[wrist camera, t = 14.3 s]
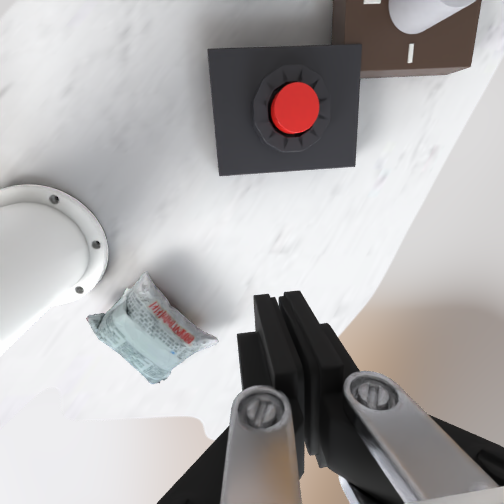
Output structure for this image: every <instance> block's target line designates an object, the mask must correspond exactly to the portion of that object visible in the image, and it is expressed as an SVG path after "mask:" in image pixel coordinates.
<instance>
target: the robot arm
mask: <svg viewBox="0 0 504 504" xmlns="http://www.w3.org/2000/svg"><path fill="white" fill-rule="evenodd" d="M56 197H58V199H59V201H58V200H57V199H56ZM97 241H98V242H100V244H98V243H97ZM107 263H108V244H107V239H106V236H105V234H104V231H103V229H102V227H101V225H100V223H99V222H98V220H97V219H96V217H95V216H94V215H93V214H92V213H91V212H90V210H89V209H88V208H87V207H86V206H84V205H83V204H82V203H81V202H79V201H78V200H77V199H75V198H74V197H72V196H70V195H68V194H67V193H65V192H62V191H60V190H57V189H54V188H52V187H47V186H42V185H33V184H23V185H16V186H10V187H6V188H3V189H0V356H1V355H2V354H3V353H4V352H5V351H6V350H7V349H8V348H9V347H10V346H11V345H12V344H13V343H14V342H15V341H16V340H18V339H19V338H20V337H21V336H22V335H23V334H24V333H25V332H26V331H27V330H28V329H29V328H30V327H31V326H32V325H33V324H34V323H35V322H36V321H37V320H38V319H40V318H41V317H42V316H43V315H44V314H45V313H46V312H47V311H48V310H49V309H50V308H51V307H52V306H53V305H61V304H66V303H70V302H72V301H75V300H77V299H79V298H81V297H83V296H84V295H86V294H88V293H89V292H90V291H91V290H92V289H93V288H94V287H95V286H96V285H97V283H98V282H99V281H100V280H101V278H102V276H103V274H104V272H105V270H106V267H107ZM254 313H255V329H256V332H248V333H240V334H237V341H238V352H239V363H240V373H241V382H242V392H241V393H239V394H238V395H237V397H236V398H235V400H234V402H233V405H232V408H231V416H230V425H229V426H228V427H227V429H226V430H225V431H224V432H223V433H222V434H221V435H220V436H219V437H218V438H217V439H216V440H215V441H214V443H213V444H212V445H211V446H210V447H209V448H208V449H207V450H206V451H205V452H204V453H203V454H202V455H201V457H200V458H199V459H198V460H197V461H196V462H195V463H194V464H193V465H192V466H191V467H190V468H189V469H188V470H187V471H186V473H185V474H184V475H183V476H182V477H181V478H180V479H179V480H178V481H177V482H176V483H175V484H174V485H173V486H172V488H171V489H170V490H169V491H168V492H167V493H166V494H165V495H164V496H163V497H162V498H161V499H160V500H159V501H158V503H157V504H302V500H301V491H300V482H299V480H300V478H301V476H302V475H303V473H304V441H305V444H306V448H307V451H308V453H309V455H315V456H316V459H317V462H318V465H319V467H320V468H323V467H328V468H329V469H331V470H332V471H334V472H335V473H337V474H338V475H339V481H340V483H341V486H342V489H343V491H344V493H345V495H346V496H347V498H348V500H349V502H350V504H504V448H503V447H501V446H500V445H498V444H495V443H493V442H491V441H488V440H486V439H484V438H482V437H479V436H477V435H475V434H472V433H470V432H468V431H465V430H463V429H461V428H458V427H456V426H454V425H451V424H449V423H447V422H444V421H442V420H440V419H437V418H435V417H433V416H431V415H428V414H427V413H426V412H425V411H424V410H423V409H422V408H421V407H420V406H419V405H418V404H417V403H416V402H415V401H414V400H413V399H412V398H411V397H410V396H409V395H408V394H407V393H406V392H405V391H404V390H403V389H402V388H401V387H400V386H399V385H398V384H397V383H396V382H394V381H393V380H392V379H390V378H388V377H387V376H385V375H383V374H379V373H376V372H371V371H359V369H358V368H357V366H356V365H355V363H354V362H353V360H352V358H351V357H350V355H349V354H348V352H347V351H346V349H345V348H344V346H343V345H342V343H341V342H340V340H339V338H338V337H337V335H336V334H335V332H334V331H333V329H332V328H331V326H330V325H329V324H328V323H324V324H319V322H318V320H317V319H316V317H315V315H314V314H313V312H312V310H311V309H310V307H309V305H308V304H307V302H306V300H305V299H304V297H303V295H302V294H301V292H300V291H290V292H284V296H280V297H279V306H278V303H277V301H276V298H275V297H271V298H270V296H269V294H262V295H254Z"/></svg>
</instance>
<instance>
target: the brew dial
mask: <svg viewBox="0 0 504 504" xmlns="http://www.w3.org/2000/svg"><path fill="white" fill-rule="evenodd" d="M475 1H476V0H389V13H390V16H391V19H392V21H393V23H394V25H395V26H396V27H397V28H398V29H399V30H400V31H402V32H404V33H407V34H417V33H421V32H423V31H425V30H426V29H428V28H430V27H432V26H433V25H435V24H437V23H439V22H440V21H442V20H444V19H446V18H447V17H449V16H451V15H453V14H454V13H456V12H458V11H460V10H461V9H463V8H465V7H467V6H468V5H470V4H472V3H473V2H475Z"/></svg>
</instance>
